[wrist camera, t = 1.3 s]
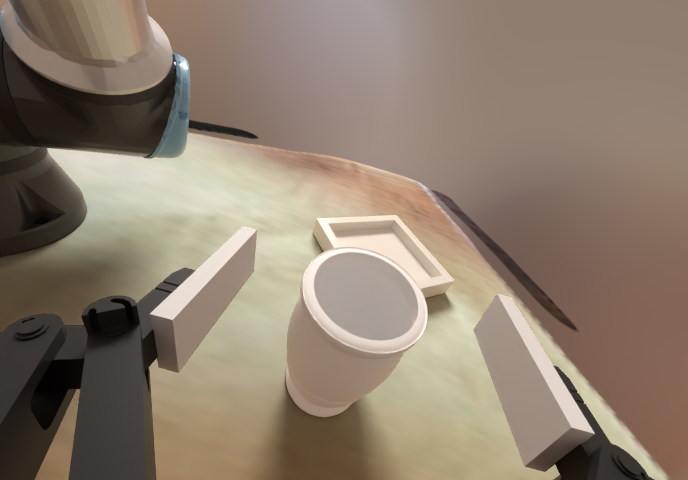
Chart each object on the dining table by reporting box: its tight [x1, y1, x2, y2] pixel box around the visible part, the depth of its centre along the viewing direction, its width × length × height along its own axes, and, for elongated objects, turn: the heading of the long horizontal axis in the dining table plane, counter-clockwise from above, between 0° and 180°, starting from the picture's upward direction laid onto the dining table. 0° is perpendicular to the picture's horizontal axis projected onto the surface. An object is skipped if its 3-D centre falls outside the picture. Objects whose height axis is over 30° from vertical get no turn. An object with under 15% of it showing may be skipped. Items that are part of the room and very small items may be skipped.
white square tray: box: [313, 215, 455, 298], centre depth 48 cm, size 18×18×3 cm
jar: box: [286, 247, 428, 417], centre depth 26 cm, size 11×10×15 cm
